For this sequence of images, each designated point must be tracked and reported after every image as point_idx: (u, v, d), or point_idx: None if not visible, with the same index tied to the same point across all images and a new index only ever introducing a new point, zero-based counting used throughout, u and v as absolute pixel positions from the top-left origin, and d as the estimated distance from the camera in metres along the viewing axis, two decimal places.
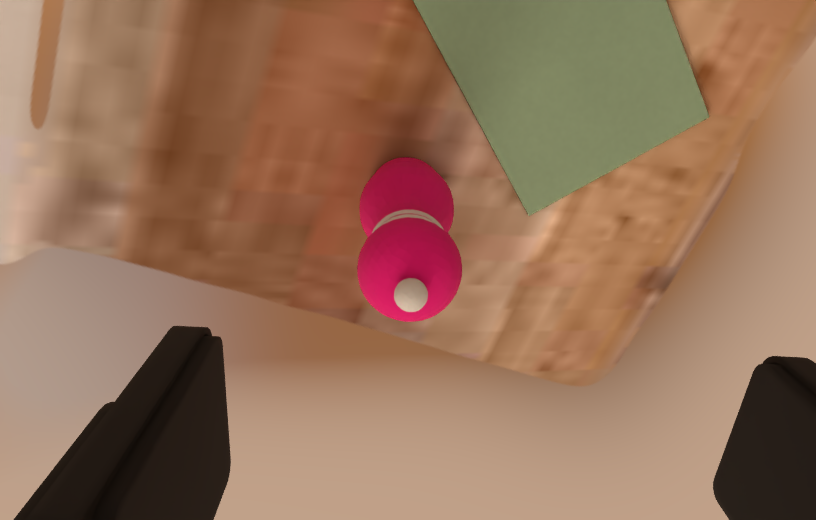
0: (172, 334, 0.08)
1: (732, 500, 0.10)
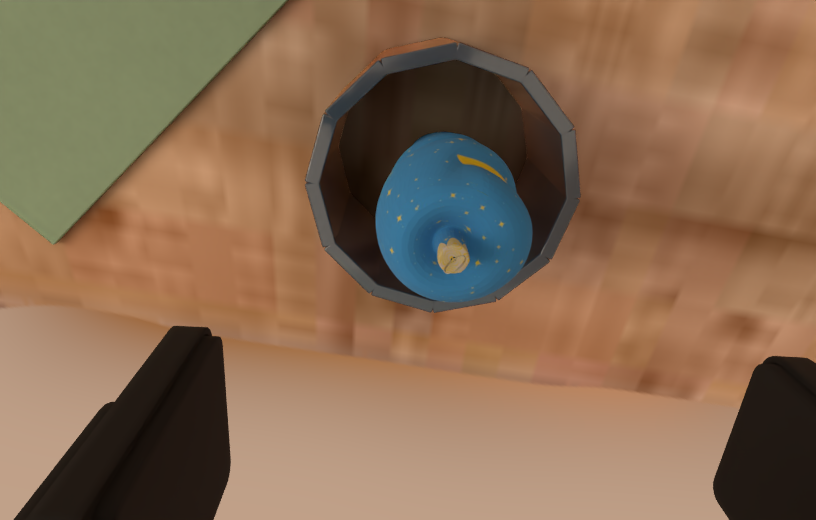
0: (172, 334, 0.08)
1: (732, 500, 0.10)
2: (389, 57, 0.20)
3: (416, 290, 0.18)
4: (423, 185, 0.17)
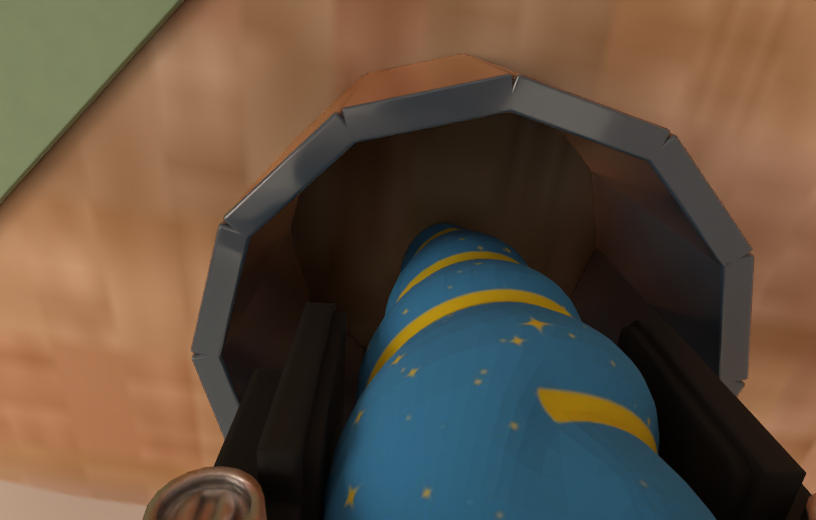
0: (309, 308, 0.09)
1: None
2: (360, 106, 0.09)
3: None
4: None
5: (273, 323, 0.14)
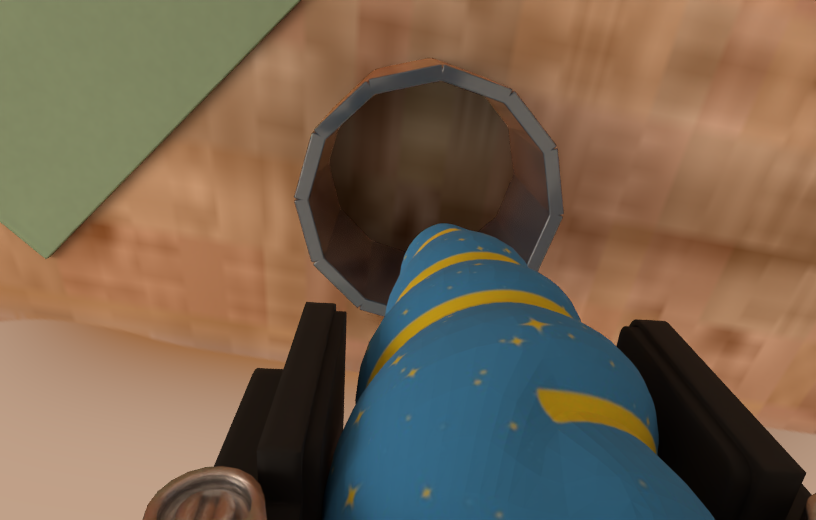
0: (309, 308, 0.09)
1: None
2: (376, 78, 0.21)
3: None
4: None
5: (325, 204, 0.26)
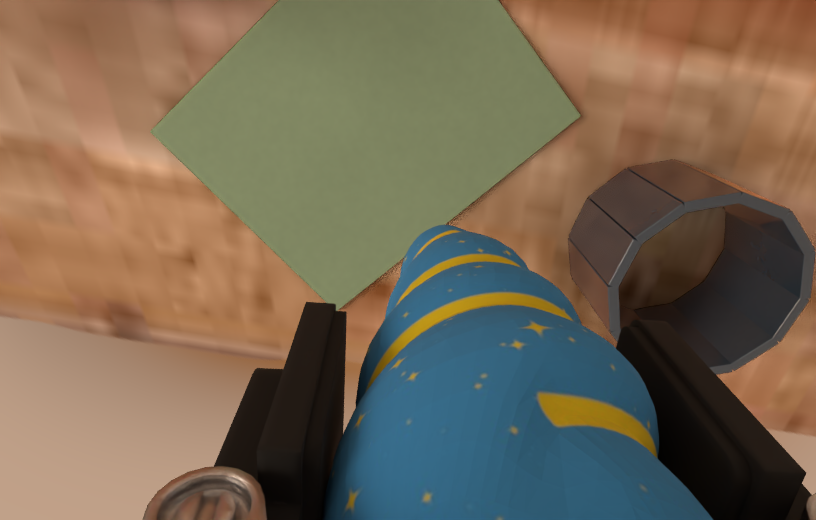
0: (309, 308, 0.09)
1: None
2: (691, 201, 0.28)
3: None
4: None
5: None
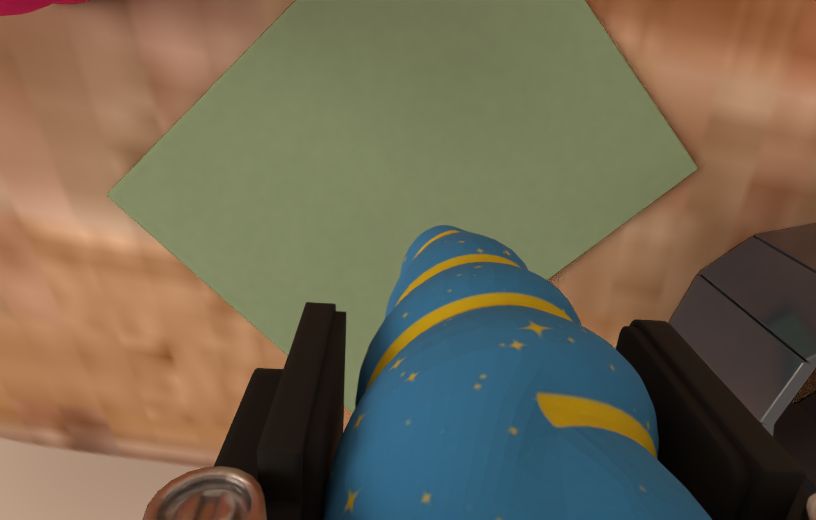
0: (309, 308, 0.09)
1: None
2: None
3: None
4: None
5: None
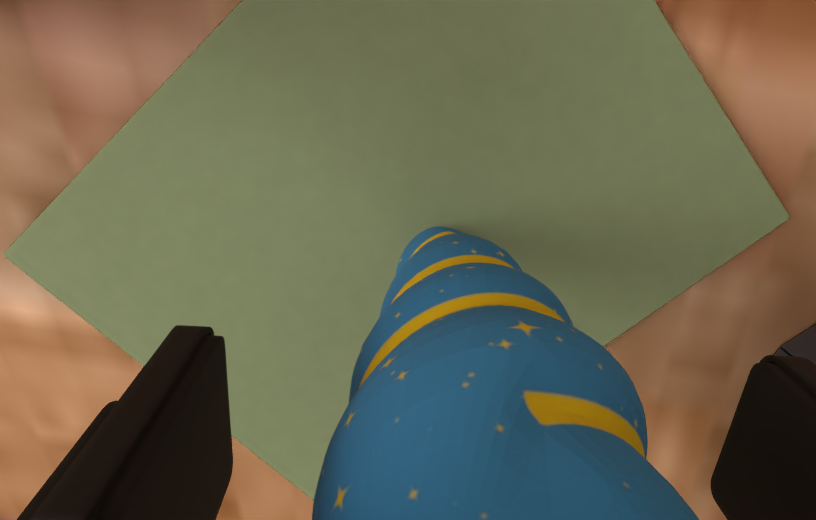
0: (175, 333, 0.08)
1: (729, 499, 0.10)
2: None
3: None
4: None
5: None
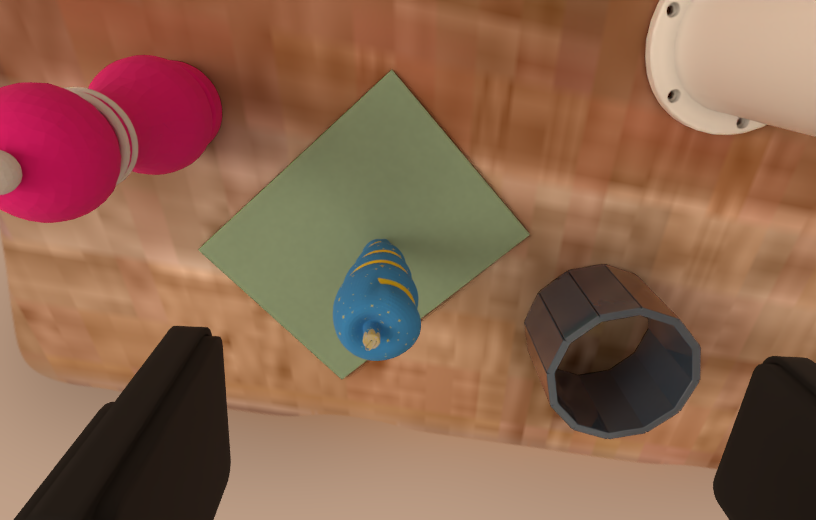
0: (172, 334, 0.08)
1: (732, 500, 0.10)
2: (604, 314, 0.37)
3: (354, 354, 0.31)
4: (357, 299, 0.30)
5: None
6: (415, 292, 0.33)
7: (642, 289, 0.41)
